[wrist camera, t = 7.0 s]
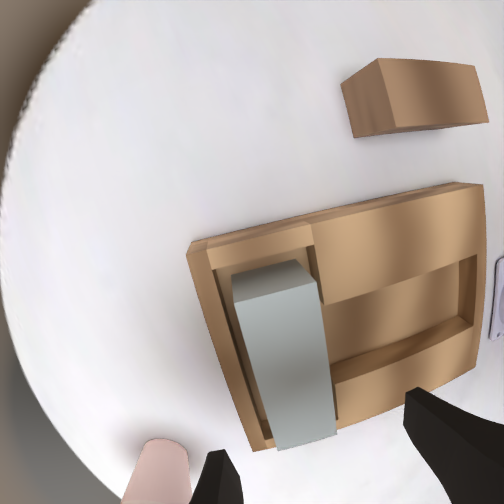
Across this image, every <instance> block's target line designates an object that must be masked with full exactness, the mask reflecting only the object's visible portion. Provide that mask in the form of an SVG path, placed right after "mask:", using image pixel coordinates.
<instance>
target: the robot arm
mask: <svg viewBox="0 0 504 504" xmlns="http://www.w3.org/2000/svg"><path fill="white" fill-rule="evenodd" d="M503 335H504V258H502V259H500V260H499V261H498V262H497V268H496V286H495V298H494V308H493V317H492V325H491V332H490V340H491V341H495V340H497V339H498V338H500V337H501V336H503ZM403 426H404V428H405V429H406V431H407V433H408V435H409V437H410V439H411V441H412V443H413V444H414V446H415V447H416V449H417V450H418V451H419V453H420V454H421V456H422V457H423V458H424V460H425V461H426V462H427V464H428V465H429V466H430V468H431V469H432V471H433V472H434V473H435V475H436V476H437V477H438V479H439V481H440V482H441V484H442V485H443V487H444V489H445V491H446V493H447V495H448V497H449V499H450V501H451V503H452V504H504V425H503V424H499V423H496V422H492V421H489V420H486V419H483V418H480V417H478V416H475V415H473V414H470V413H468V412H466V411H464V410H462V409H460V408H458V407H455V406H453V405H451V404H449V403H448V402H446V401H444V400H442V399H440V398H438V397H436V396H435V395H433V394H431V393H429V392H428V391H426V390H424V389H422V388H420V387H416V388H414V389H412V390H410V391H408V392H405V408H404V420H403ZM189 504H244V499H243V492H242V486H241V481H240V476H239V474H238V473H237V471H236V469H235V467H234V465H233V464H232V462H231V460H230V458H229V456H228V454H227V452H226V451H225V449H223V450H217V451H211V452H209V453H208V454H207V457H206V461H205V464H204V467H203V470H202V473H201V476H200V478H199V481H198V484H197V486H196V488H195V491H194V493H193V496H192V498H191V500H190V502H189Z"/></svg>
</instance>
